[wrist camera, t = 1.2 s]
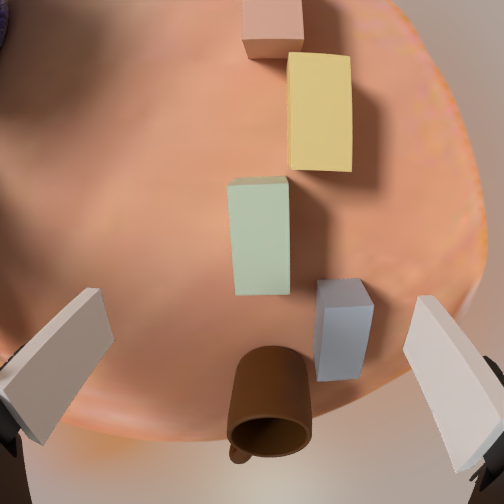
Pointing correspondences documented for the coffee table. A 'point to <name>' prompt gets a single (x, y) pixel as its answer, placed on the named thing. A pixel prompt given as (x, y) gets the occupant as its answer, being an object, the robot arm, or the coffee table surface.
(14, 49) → the coffee table surface
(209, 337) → the coffee table surface
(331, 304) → the slate brick
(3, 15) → the planter
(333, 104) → the mustard brick
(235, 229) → the sage brick
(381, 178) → the coffee table surface
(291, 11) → the terracotta brick
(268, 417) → the mug
